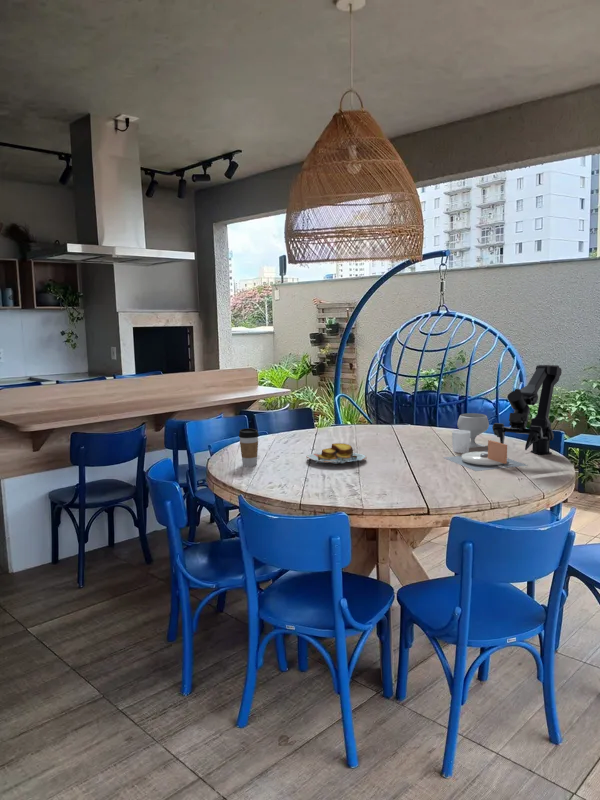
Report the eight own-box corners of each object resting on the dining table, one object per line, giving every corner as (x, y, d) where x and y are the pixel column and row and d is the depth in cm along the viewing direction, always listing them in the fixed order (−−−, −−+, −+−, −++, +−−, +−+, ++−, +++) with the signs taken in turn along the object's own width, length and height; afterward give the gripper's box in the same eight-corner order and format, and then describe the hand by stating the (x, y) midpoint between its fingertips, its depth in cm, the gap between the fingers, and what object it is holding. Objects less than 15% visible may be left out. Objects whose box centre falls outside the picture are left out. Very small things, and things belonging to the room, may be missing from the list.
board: (491, 455, 268) (491, 452, 268) (527, 468, 245) (527, 464, 245) (442, 460, 261) (442, 457, 260) (475, 474, 238) (475, 470, 238)
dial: (507, 456, 258) (507, 435, 257) (507, 467, 240) (507, 445, 239) (463, 453, 264) (463, 433, 263) (459, 464, 246) (460, 443, 245)
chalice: (465, 442, 294) (466, 411, 292) (493, 446, 285) (494, 414, 283) (451, 448, 284) (452, 416, 282) (480, 452, 275) (480, 419, 272)
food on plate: (295, 463, 261) (294, 448, 261) (329, 452, 281) (329, 438, 280) (344, 472, 246) (344, 455, 245) (377, 460, 265) (377, 445, 264)
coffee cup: (250, 461, 265) (249, 427, 263) (263, 464, 259) (262, 429, 257) (235, 465, 259) (234, 430, 257) (248, 468, 253) (247, 432, 251)
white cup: (470, 456, 268) (471, 433, 266) (452, 455, 269) (452, 433, 268) (469, 452, 275) (469, 430, 274) (451, 451, 277) (451, 429, 275)
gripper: (494, 403, 251) (486, 435, 243) (542, 406, 241) (535, 439, 233) (498, 419, 258) (491, 450, 251) (545, 422, 249) (539, 455, 241)
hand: (513, 448), depth 244 cm, fingers open, 9 cm apart
